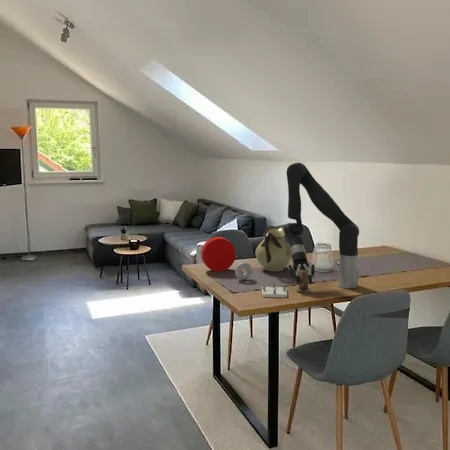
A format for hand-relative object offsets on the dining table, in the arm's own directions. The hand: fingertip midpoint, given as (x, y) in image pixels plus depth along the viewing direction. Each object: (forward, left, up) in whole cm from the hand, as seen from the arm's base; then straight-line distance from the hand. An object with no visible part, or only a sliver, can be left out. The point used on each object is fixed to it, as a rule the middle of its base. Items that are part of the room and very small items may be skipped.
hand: (304, 283), depth 236 cm
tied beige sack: (+13, -46, -5) cm, 48 cm away
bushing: (0, -2, -5) cm, 5 cm away
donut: (+31, -22, -5) cm, 39 cm away
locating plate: (+15, +2, -5) cm, 16 cm away
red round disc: (+47, -42, -5) cm, 63 cm away
